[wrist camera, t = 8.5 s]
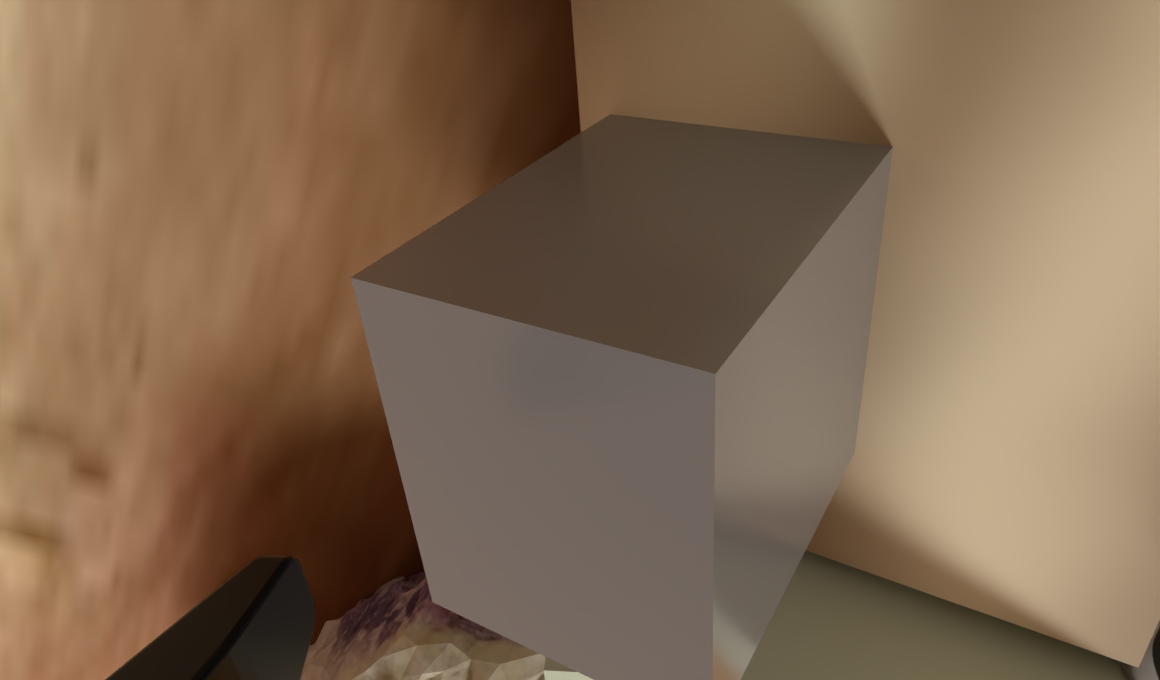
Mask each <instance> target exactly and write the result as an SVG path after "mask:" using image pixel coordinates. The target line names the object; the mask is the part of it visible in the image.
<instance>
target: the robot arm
mask: <svg viewBox="0 0 1160 680" xmlns="http://www.w3.org/2000/svg"><path fill="white" fill-rule="evenodd" d="M315 620H316V608H315V603H314V600H313V597H312V594H311V592H310V589H309V586H308V583H307V580H306V578H305V575H304V572H303V569H302V566H301V564H300V562H299V561H298V560H297V559H296V558H295V557H293V556H287V555H262V556H259V557H257V558H255V559H253V560H252V561H251V562H249V563H248V564H247V565H246V566H244V567H243V568H242V569H241V570H239V571H238V572H237V573H236V574H235V575H233V576H232V577H231V578H230V579H228V580H227V581H226V582H225V583H223V584H222V585H221V586H220V587H219V588H217V589H216V590H215V591H214V592H212V593H211V594H210V595H209V596H207V597H206V598H205V599H204V600H203V601H201V602H200V603H199V604H198V605H196V606H195V607H194V608H193V609H191V610H190V611H189V612H188V613H187V614H185V615H184V616H183V617H182V618H180V619H179V620H178V621H177V622H176V623H174V624H173V625H172V626H171V627H169V628H168V629H167V630H166V631H164V632H163V633H162V634H161V635H160V636H158V637H157V638H156V639H155V640H153V641H152V642H151V643H150V644H148V645H147V646H146V647H145V648H144V649H142V650H141V651H140V652H139V653H137V654H136V655H135V656H134V657H132V658H131V659H130V660H129V661H128V662H126V663H125V664H124V665H123V666H121V667H120V668H119V669H118V670H116V671H115V672H114V673H113V674H112V675H110V676H109V677H108V678H107V679H105V680H300V679H301V675H302V672H303V668H304V664H305V660H306V657H307V653H308V649H309V645H310V642H311V638H312V634H313V630H314V626H315ZM1152 656H1153V663H1154V667H1155V670H1156V673H1157V677H1158V680H1160V626H1159V628H1158V631H1157V633H1156V635H1155V637H1154V641H1153V646H1152Z"/></svg>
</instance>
